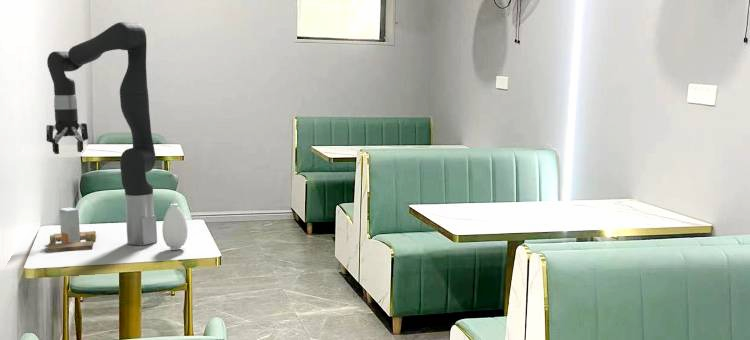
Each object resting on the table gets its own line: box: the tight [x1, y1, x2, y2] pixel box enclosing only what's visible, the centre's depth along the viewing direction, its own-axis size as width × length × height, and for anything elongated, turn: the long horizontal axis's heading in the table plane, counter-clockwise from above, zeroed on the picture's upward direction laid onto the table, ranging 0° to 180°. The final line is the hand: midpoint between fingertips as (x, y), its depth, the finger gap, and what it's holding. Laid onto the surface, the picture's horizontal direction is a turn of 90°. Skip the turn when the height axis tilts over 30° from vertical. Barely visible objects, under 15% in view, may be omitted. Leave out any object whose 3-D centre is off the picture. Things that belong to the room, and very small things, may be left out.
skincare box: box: [59, 207, 81, 243], centre depth 256 cm, size 6×4×12 cm
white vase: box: [161, 195, 188, 251], centre depth 245 cm, size 8×8×18 cm
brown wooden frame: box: [46, 230, 97, 253], centre depth 257 cm, size 14×24×3 cm, turn 18°
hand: (68, 152), depth 266 cm, fingers open, 8 cm apart
